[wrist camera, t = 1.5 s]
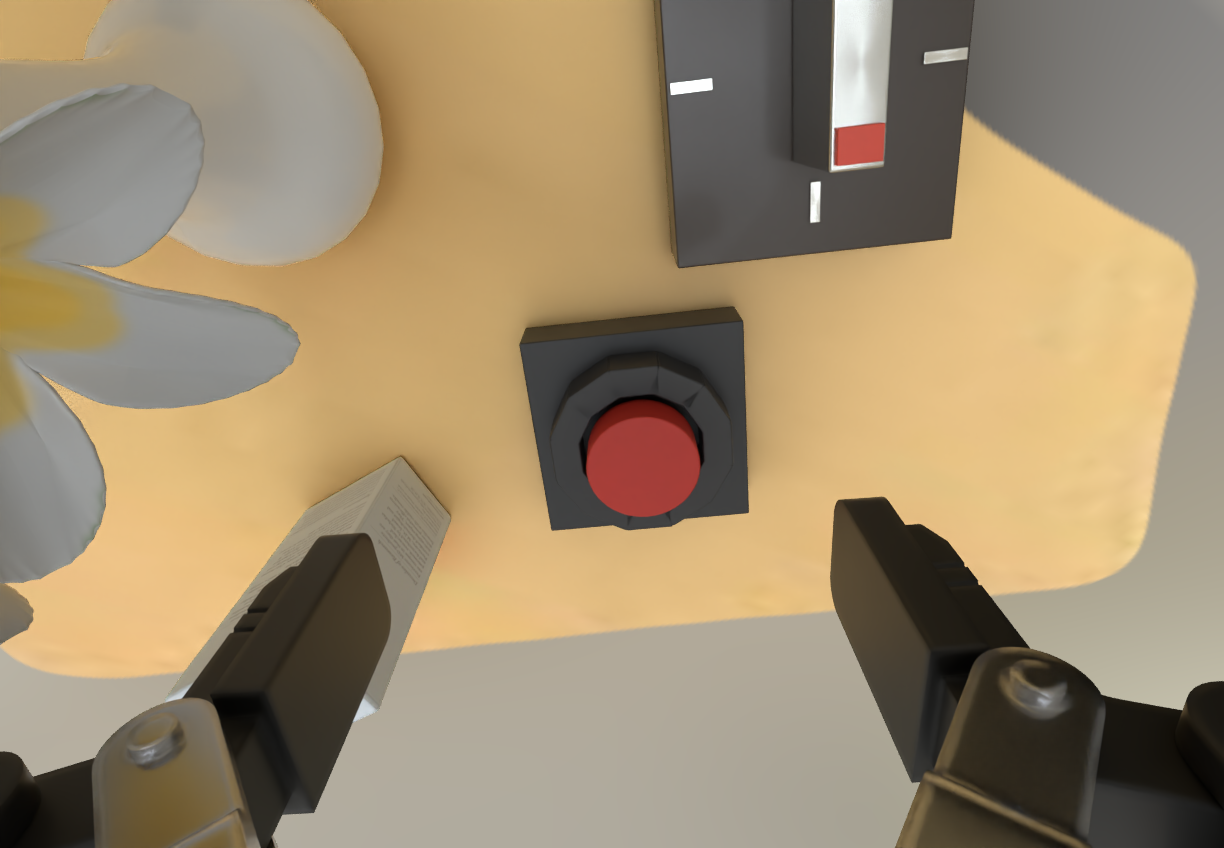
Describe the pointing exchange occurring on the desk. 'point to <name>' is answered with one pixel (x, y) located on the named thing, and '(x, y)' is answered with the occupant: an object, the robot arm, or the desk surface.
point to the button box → (634, 370)
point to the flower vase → (156, 231)
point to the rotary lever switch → (763, 135)
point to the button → (642, 458)
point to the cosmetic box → (404, 547)
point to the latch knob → (841, 83)
